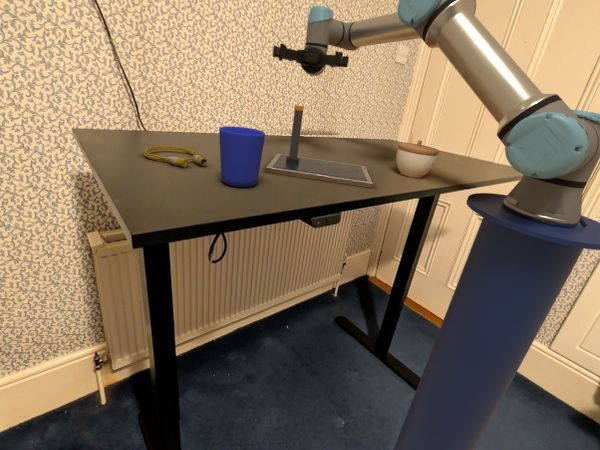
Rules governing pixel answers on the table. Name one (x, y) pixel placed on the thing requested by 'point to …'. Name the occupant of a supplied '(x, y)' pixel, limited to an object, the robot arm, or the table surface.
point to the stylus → (295, 135)
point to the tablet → (321, 170)
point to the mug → (240, 155)
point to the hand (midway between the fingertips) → (308, 53)
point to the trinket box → (415, 159)
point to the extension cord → (176, 160)
